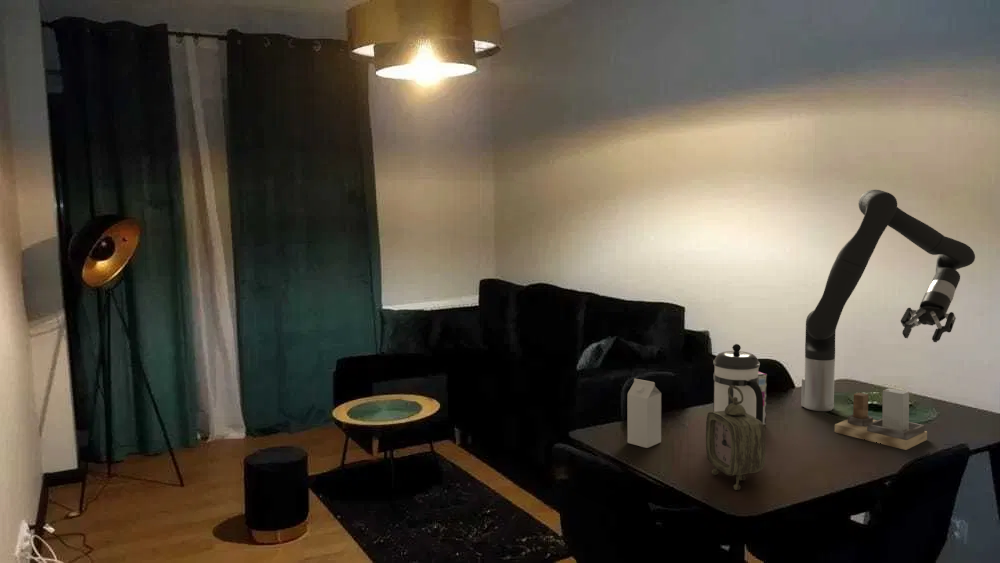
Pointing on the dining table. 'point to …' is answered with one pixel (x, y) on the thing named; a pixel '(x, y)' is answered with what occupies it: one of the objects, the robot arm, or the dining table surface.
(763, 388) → the candy bar box
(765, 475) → the dining table surface
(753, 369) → the coffee press
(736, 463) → the tabletop clock
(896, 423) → the skincare box
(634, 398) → the milk carton
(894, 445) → the wooden board
